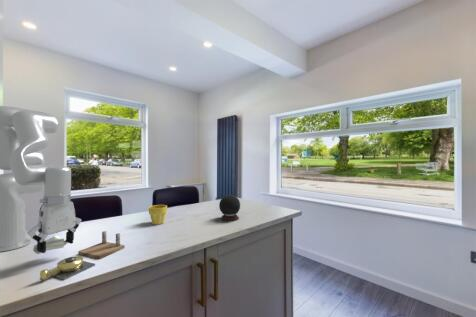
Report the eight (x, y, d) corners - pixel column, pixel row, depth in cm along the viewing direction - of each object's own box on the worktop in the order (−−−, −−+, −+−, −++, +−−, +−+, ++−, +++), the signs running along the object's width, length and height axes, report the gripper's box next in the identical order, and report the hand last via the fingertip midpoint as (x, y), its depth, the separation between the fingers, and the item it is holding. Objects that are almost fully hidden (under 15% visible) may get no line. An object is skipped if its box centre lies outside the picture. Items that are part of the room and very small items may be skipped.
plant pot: (145, 223, 129) (145, 206, 129) (162, 219, 136) (162, 203, 136) (152, 227, 121) (152, 209, 121) (170, 223, 128) (170, 206, 128)
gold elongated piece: (33, 278, 68) (33, 268, 68) (74, 261, 79) (74, 252, 79) (47, 282, 65) (47, 272, 65) (87, 264, 76) (87, 255, 76)
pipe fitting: (69, 246, 85) (52, 244, 85) (70, 236, 85) (53, 234, 85) (51, 256, 77) (32, 253, 77) (52, 245, 77) (33, 242, 77)
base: (44, 274, 71) (44, 272, 71) (76, 260, 81) (76, 259, 81) (63, 280, 68) (63, 278, 68) (95, 265, 77) (95, 263, 77)
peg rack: (78, 254, 86) (78, 238, 86) (104, 244, 97) (104, 230, 97) (99, 259, 82) (99, 242, 82) (124, 248, 92) (124, 233, 92)
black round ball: (239, 215, 144) (239, 193, 144) (241, 221, 131) (241, 196, 131) (219, 216, 143) (219, 193, 143) (219, 222, 130) (218, 196, 130)
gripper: (34, 206, 70) (33, 259, 71) (88, 197, 87) (87, 240, 87) (21, 203, 73) (20, 254, 73) (75, 195, 89) (74, 237, 90)
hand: (56, 247), depth 80 cm, fingers closed on pipe fitting, 8 cm apart
